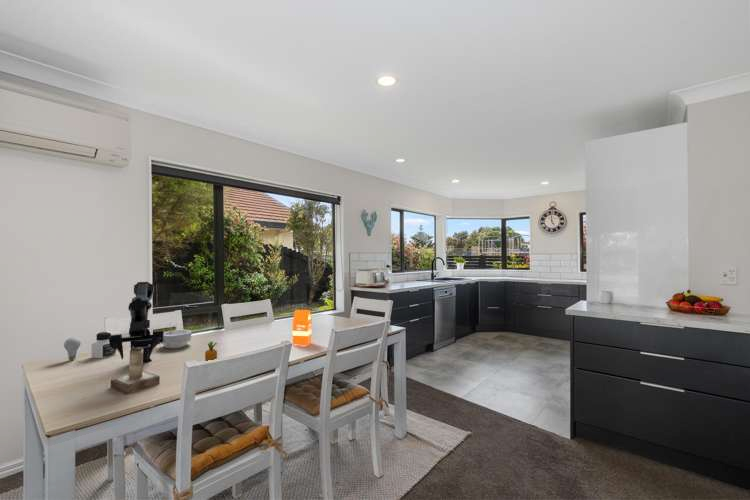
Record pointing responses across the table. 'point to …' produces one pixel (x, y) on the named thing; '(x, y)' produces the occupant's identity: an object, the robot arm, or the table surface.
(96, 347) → the medicine bottle
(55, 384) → the table surface
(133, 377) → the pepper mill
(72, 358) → the lightbulb
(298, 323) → the orange juice
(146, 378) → the square tray
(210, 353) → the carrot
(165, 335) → the paper bowls
